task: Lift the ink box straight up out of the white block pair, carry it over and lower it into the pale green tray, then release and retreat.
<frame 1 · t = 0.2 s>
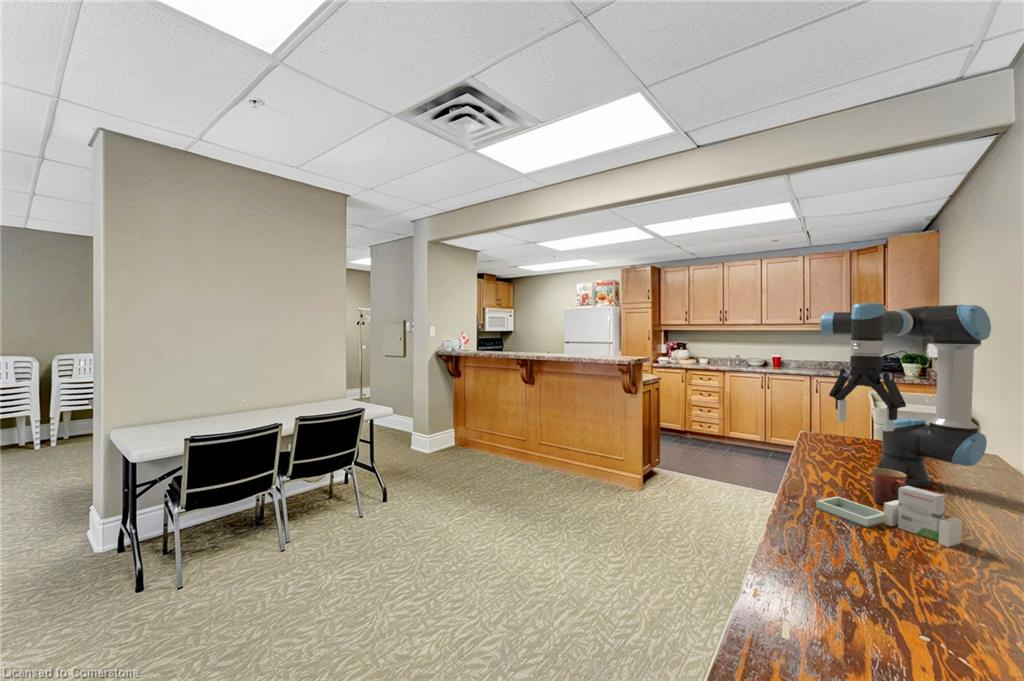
hand: (863, 425, 129), 27 cm above the worktop, fingers open, 13 cm apart
white block pair: (920, 532, 119), on the worktop
ink box: (920, 533, 119), on the worktop
pale green tray: (851, 515, 130), on the worktop
mug: (891, 506, 137), on the worktop
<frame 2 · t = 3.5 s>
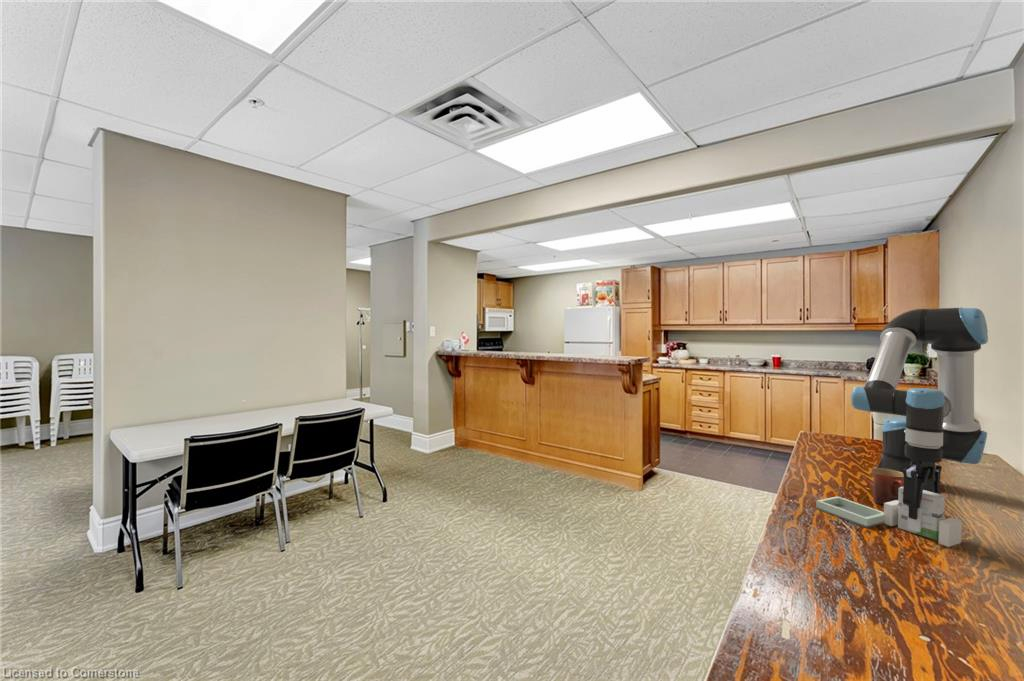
hand: (920, 528, 119), 1 cm above the worktop, fingers closed on ink box, 5 cm apart
ink box: (920, 533, 119), on the worktop, touching gripper
everything else where it was.
when the fingers open (4 cm above the worktop, at t = 9.9 s): ink box drops 2 cm, resting on pale green tray.
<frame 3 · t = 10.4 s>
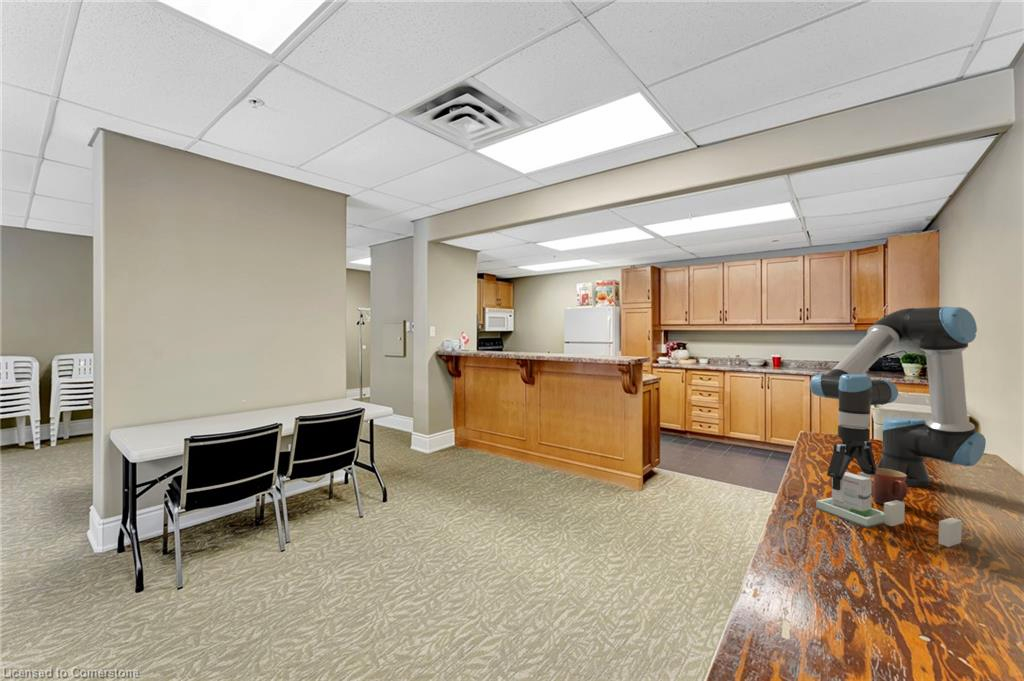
hand: (851, 497, 130), 6 cm above the worktop, fingers open, 12 cm apart
ink box: (850, 514, 130), resting on pale green tray
everything else where it was.
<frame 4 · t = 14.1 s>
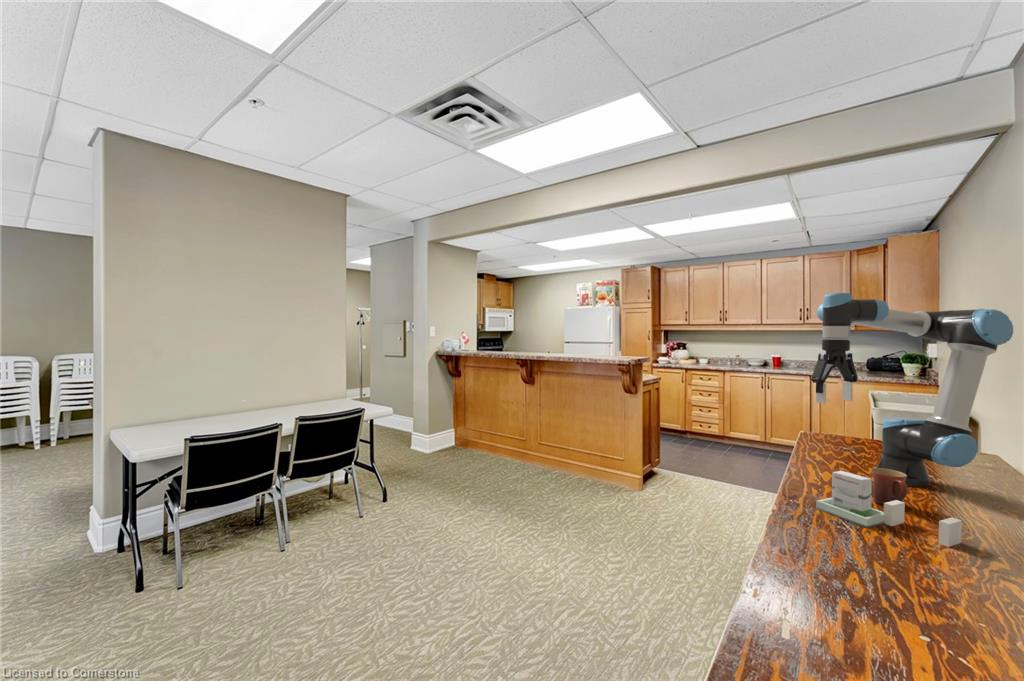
hand: (834, 401, 146), 32 cm above the worktop, fingers open, 13 cm apart
nothing on the worktop moved.
at the end: ink box 0.1 cm off-centre on the pale green tray, point 0.4 cm above the pale green tray's base; ink box tilted 0°; the gripper is holding nothing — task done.
